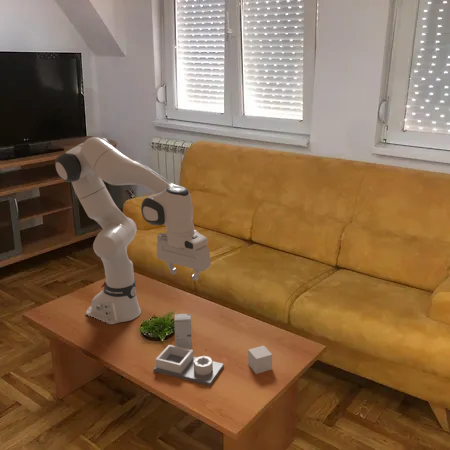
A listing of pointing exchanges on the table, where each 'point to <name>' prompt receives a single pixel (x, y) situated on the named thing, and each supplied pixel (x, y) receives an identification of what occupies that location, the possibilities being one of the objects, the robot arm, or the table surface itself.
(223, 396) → the table surface
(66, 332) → the table surface
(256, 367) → the light grey cube
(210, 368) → the socket holder
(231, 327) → the table surface
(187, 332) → the skincare box
